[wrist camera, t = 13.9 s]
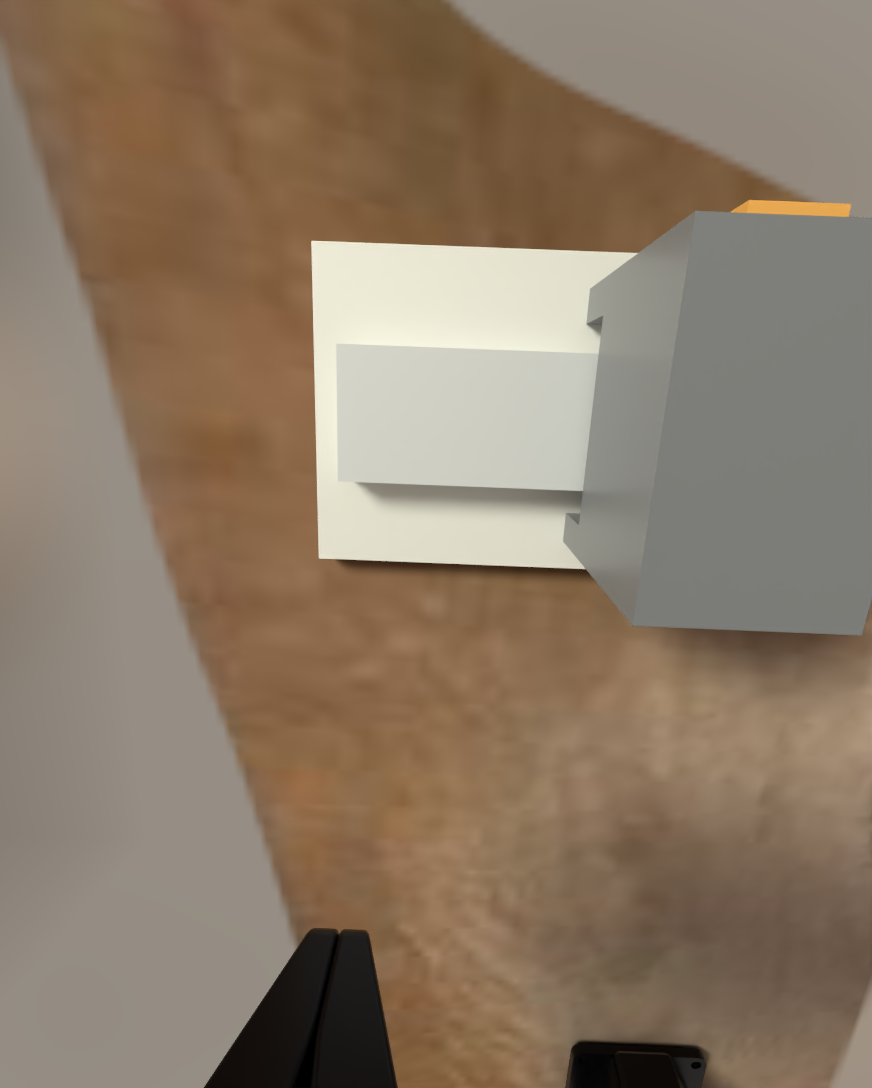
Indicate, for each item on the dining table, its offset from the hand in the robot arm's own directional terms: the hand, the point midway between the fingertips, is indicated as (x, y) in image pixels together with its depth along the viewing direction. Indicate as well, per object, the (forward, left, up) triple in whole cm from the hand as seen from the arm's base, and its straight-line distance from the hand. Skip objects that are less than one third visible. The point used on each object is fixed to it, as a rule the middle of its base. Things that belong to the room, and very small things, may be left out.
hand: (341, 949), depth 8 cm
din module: (+7, -8, -12) cm, 16 cm away
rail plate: (+7, -8, -13) cm, 17 cm away
